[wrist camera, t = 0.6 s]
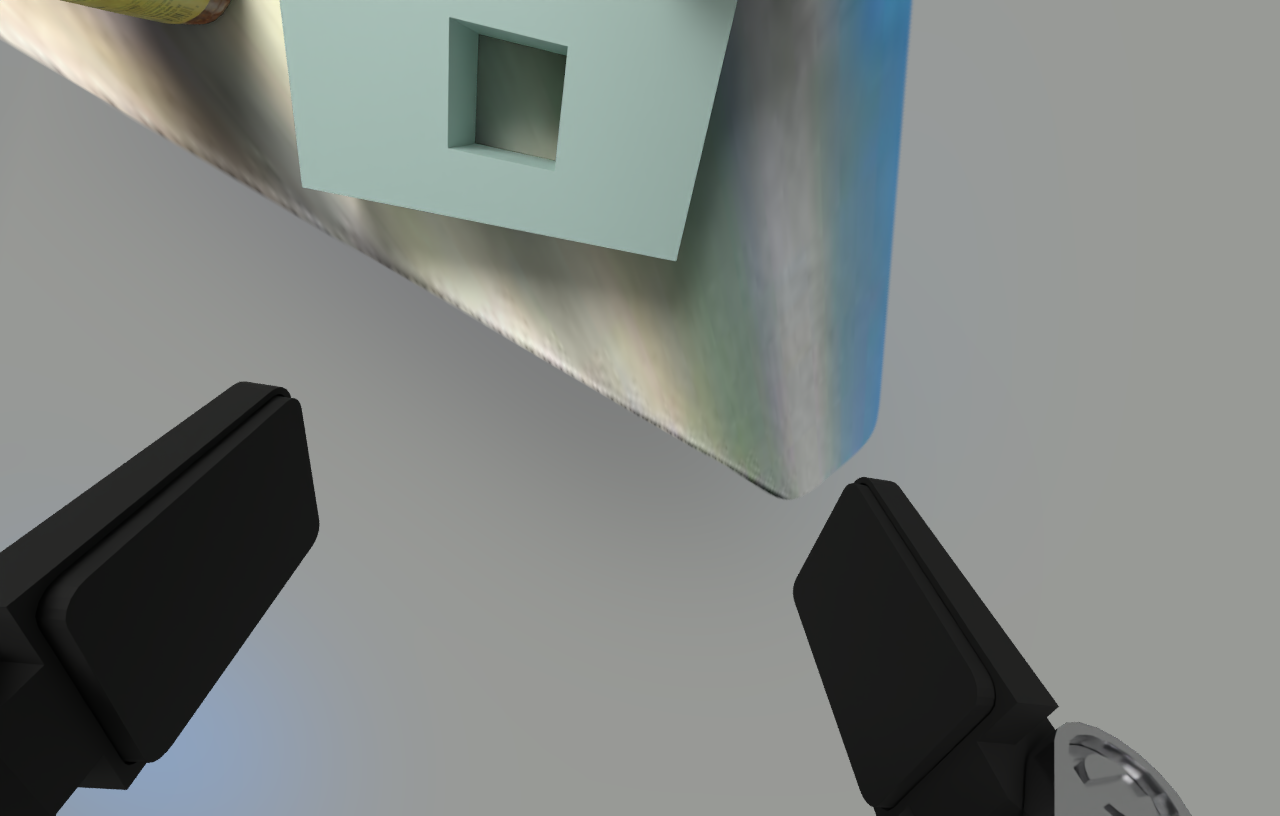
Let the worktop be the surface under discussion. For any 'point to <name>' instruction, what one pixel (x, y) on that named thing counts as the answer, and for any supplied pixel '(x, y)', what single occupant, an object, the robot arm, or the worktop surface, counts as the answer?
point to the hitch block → (446, 111)
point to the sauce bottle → (163, 9)
